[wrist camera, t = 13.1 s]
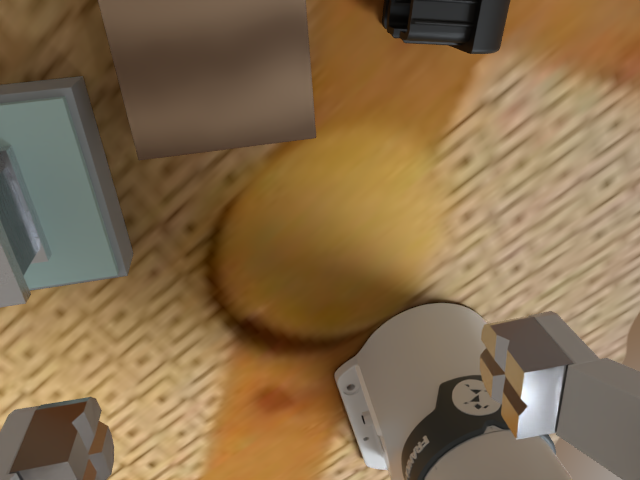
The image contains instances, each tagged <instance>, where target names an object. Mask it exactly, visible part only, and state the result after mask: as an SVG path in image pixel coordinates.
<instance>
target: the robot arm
mask: <svg viewBox="0 0 640 480" xmlns="http://www.w3.org/2000/svg"><path fill="white" fill-rule="evenodd" d="M334 377H335V381H336V384H337V387H338V389H339V392H340V395H341V398H342V401H343V404H344V406H345V409H346V412H347V415H348V418H349V421H350V423H351V426H352V429H353V432H354V435H355V437H356V440H357V443H358V446H359V449H360V452H361V454H362V457H363V459H364V462H365V464H366V465H367V466H368V467H371V468H375V469H381V470H388V472H389V475H390V478H391V480H573V479H572V477H571V476H570V475H569V473H568V472H567V470H566V469H565V468H564V467H563V465H562V463H561V462H560V461H559V459H558V458H557V456H556V450H555V446H554V443H553V441H552V440H551V438H550V437H549V434H551V433H556V435H557V436H559V437H560V438H562V439H563V440H565V441H566V442H568V443H569V444H571V445H573V446H574V447H575V448H577V449H578V450H580V451H581V452H583V453H584V454H586V455H587V456H589V457H590V458H592V459H593V460H594V461H596V462H597V463H599V464H600V465H602V466H604V467H605V468H606V469H608V470H609V471H611V472H612V473H614V474H615V475H617V476H618V477H620V478H621V479H623V480H640V372H639V371H637V370H635V369H632V368H630V367H627V366H625V365H623V364H620V363H618V362H615V361H613V360H610V359H608V358H604V359H599V358H598V357H597V356H596V355H595V353H594V352H593V351H592V350H591V349H590V348H589V347H588V346H587V345H586V344H585V343H584V342H583V341H582V340H581V339H580V338H579V337H578V336H577V335H576V334H575V332H574V331H573V330H572V329H571V328H570V327H569V326H568V325H567V324H566V323H565V322H564V321H563V320H562V319H561V318H560V317H559V316H558V315H557V314H556V313H554V312H552V311H549V312H544V313H539V314H535V315H530V316H528V317H521V318H516V319H511V320H506V321H501V322H495V323H490V324H487V323H486V322H485V320H484V319H483V318H482V317H481V316H480V315H479V314H477V313H476V312H474V311H473V310H471V309H469V308H467V307H464V306H461V305H457V304H450V303H433V304H426V305H422V306H418V307H415V308H412V309H409V310H406V311H404V312H402V313H400V314H398V315H396V316H394V317H393V318H391V319H390V320H388V321H387V322H385V323H384V324H383V325H382V326H380V327H379V328H378V329H377V330H376V331H375V332H374V333H373V334H372V335H371V337H370V338H369V339H368V340H367V342H366V343H365V345H364V346H363V347H362V349H361V350H360V351H359V353H358V354H357V355H356V356H354V357H353V358H351V359H350V360H348V361H347V362H346V363H344V364H343V365H342V366H341V367H339V368H338V369H337V371H336V372H335V376H334ZM350 384H352V385H350ZM348 385H350V386H348ZM100 414H101V408H100V406H99V404H98V402H97V400H96V399H95V398H92V397H88V398H82V399H76V400H69V401H63V402H57V403H51V404H45V405H41V406H35V407H29V408H23V409H17V410H14V411H13V412H12V413H10V414H9V415H8V417H7V419H6V421H5V423H4V425H3V427H2V429H1V431H0V480H106V479H107V478H108V477H109V476H110V475H111V473H112V468H113V463H114V444H113V440H112V435H111V432H110V430H109V427H108V426H107V425H105V424H103V423H102V422H100V421H99V418H100Z"/></svg>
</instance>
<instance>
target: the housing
mask: <svg viewBox="0 0 640 480" xmlns="http://www.w3.org/2000/svg"><path fill="white" fill-rule="evenodd" d="M51 255H52V252H51V249H50V247H49V244H48V241H47V239H46V236H45V233H44V231H43V228H42V225H41V223H40V220H39V217H38V215H37V212H36V209H35V207H34V204H33V201H32V199H31V196H30V193H29V191H28V188H27V185H26V183H25V180H24V177H23V175H22V172H21V169H20V166H19V164H18V161H17V158H16V156H15V153H14V150H13V148H12V145H9V146H1V147H0V307H5V306H12V305H18V304H25V303H26V302H27V300H28V299H29V297H30V295H31V293H30V291H29V288H28V286H27V283H26V281H25V279H24V274H25V272H26V271H27V269H28V267H29V266H30V264H33V263H40V262H47V261H49V259H50V257H51Z"/></svg>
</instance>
